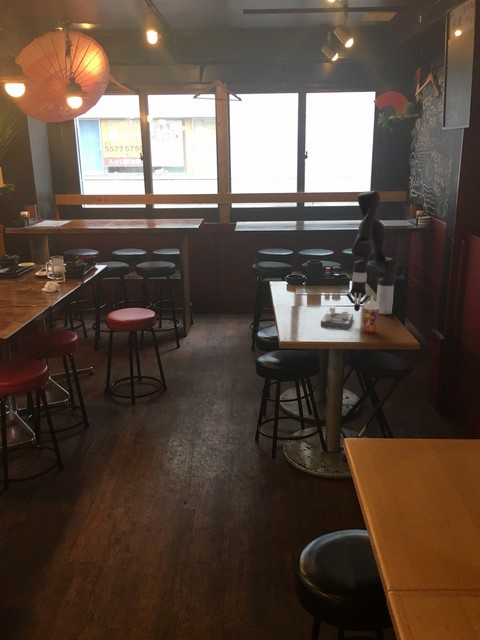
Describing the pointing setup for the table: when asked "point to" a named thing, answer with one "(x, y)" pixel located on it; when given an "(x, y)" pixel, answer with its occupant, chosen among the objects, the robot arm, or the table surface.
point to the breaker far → (332, 310)
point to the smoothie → (370, 316)
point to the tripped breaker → (344, 314)
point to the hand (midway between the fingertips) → (356, 310)
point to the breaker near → (328, 316)
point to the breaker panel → (337, 321)
